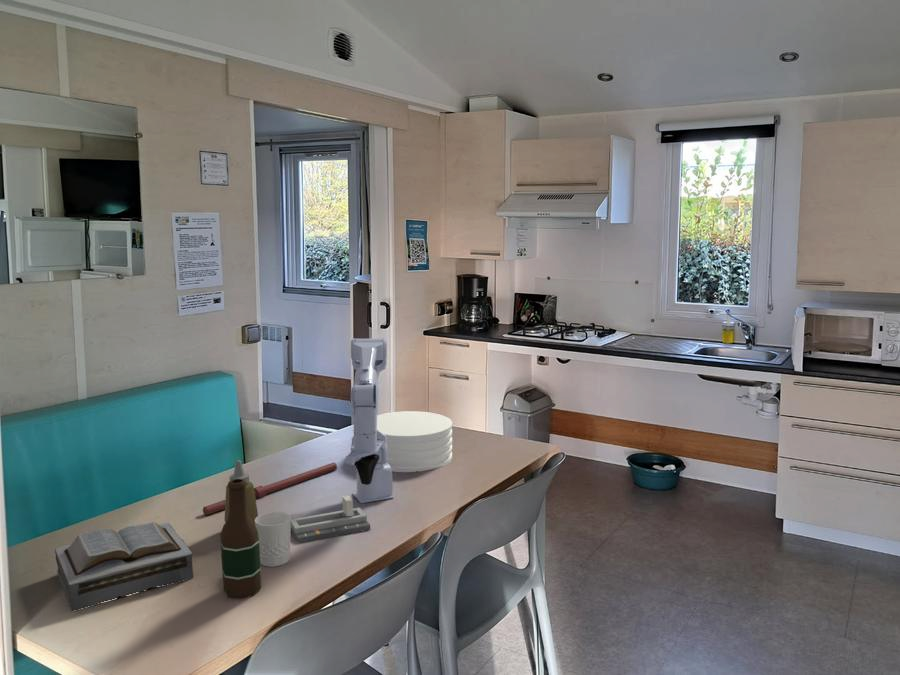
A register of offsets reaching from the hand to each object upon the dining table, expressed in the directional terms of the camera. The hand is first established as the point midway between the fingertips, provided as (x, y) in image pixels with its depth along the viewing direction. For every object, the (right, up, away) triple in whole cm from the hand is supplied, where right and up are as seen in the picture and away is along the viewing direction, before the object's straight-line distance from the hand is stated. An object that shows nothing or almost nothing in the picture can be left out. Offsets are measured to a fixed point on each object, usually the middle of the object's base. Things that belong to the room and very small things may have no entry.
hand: (366, 483), depth 190 cm
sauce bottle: (-22, -16, -33) cm, 43 cm away
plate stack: (+8, -2, +51) cm, 52 cm away
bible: (-49, -15, -27) cm, 58 cm away
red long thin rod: (-28, -7, +22) cm, 36 cm away
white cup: (-19, -14, -20) cm, 30 cm away
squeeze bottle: (-30, -11, -4) cm, 32 cm away
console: (-9, -11, -2) cm, 14 cm away
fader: (-5, -9, -1) cm, 10 cm away
